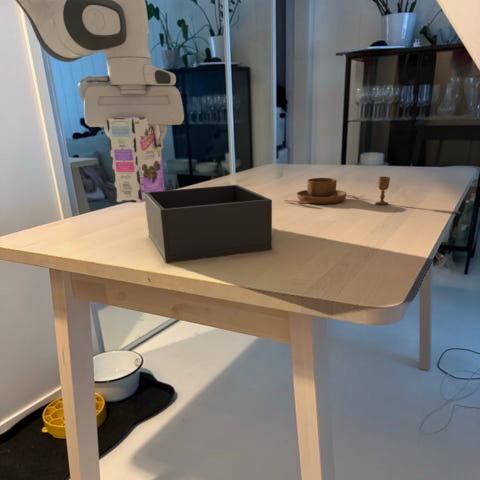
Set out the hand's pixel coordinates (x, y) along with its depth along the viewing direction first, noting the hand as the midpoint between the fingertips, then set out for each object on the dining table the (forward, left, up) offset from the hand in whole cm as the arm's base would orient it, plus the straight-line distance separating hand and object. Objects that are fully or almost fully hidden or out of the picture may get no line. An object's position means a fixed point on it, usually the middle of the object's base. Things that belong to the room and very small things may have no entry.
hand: (138, 149), depth 98 cm
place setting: (+43, -8, -14) cm, 46 cm away
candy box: (0, -1, -10) cm, 10 cm away
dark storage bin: (+6, -30, -14) cm, 34 cm away
